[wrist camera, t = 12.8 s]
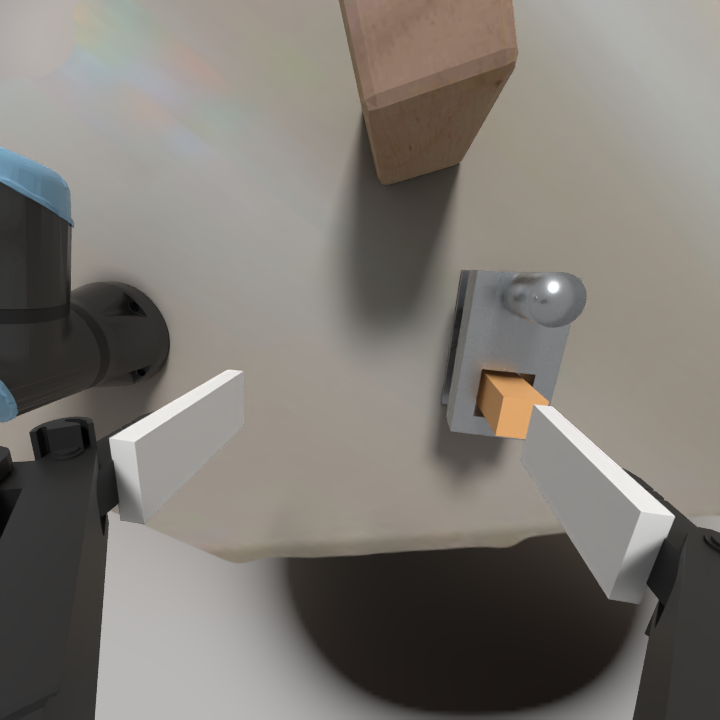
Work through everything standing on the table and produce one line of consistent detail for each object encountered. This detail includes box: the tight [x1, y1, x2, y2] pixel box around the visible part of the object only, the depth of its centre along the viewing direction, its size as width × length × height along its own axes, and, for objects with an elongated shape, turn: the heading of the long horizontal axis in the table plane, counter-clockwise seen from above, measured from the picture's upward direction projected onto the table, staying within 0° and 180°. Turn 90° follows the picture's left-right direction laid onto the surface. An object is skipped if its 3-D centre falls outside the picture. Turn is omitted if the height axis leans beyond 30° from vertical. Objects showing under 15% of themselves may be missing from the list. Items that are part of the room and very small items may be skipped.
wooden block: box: [339, 0, 518, 185], centre depth 29 cm, size 10×10×20 cm
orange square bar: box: [476, 369, 549, 439], centre depth 37 cm, size 4×4×14 cm
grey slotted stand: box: [441, 270, 586, 440], centre depth 36 cm, size 10×18×16 cm, turn 175°
